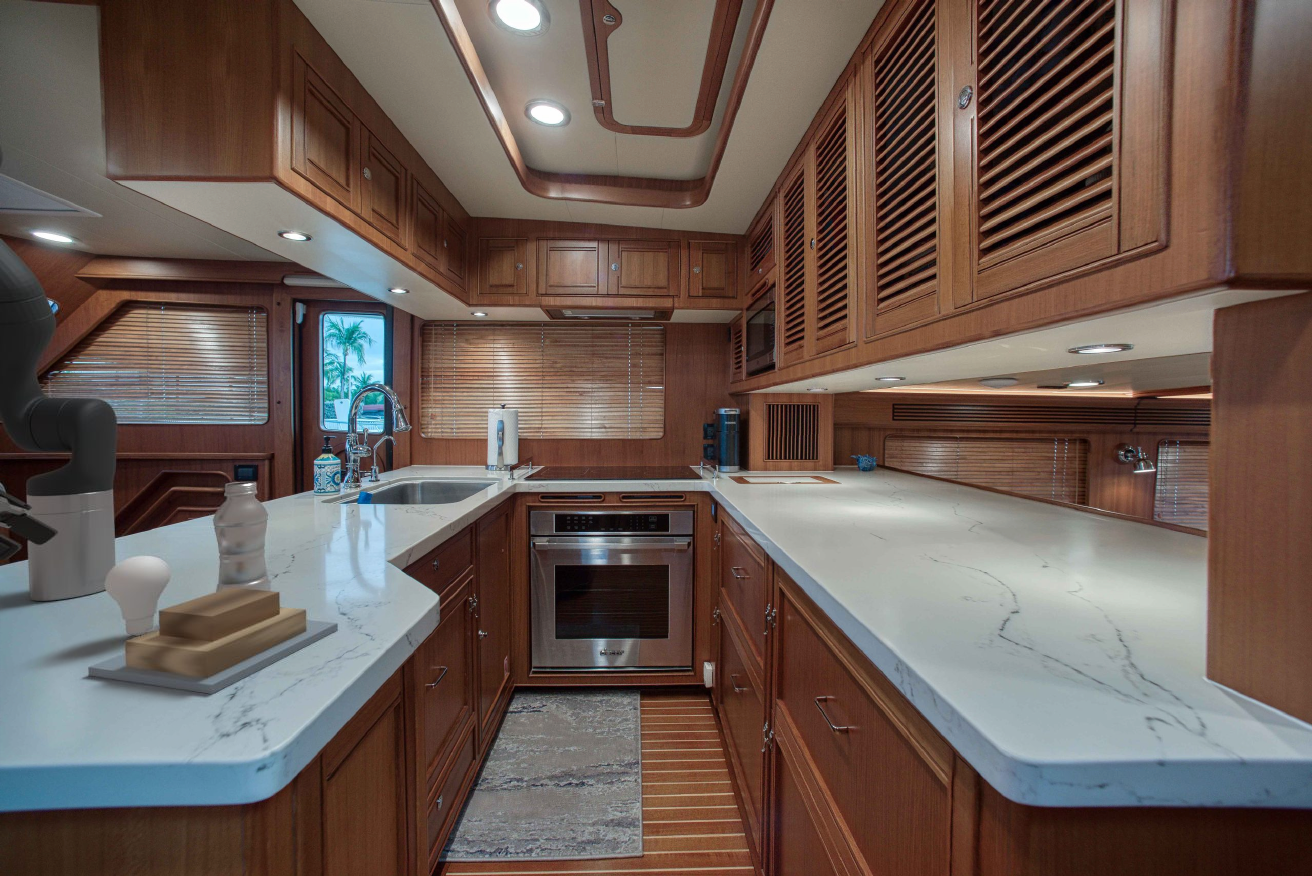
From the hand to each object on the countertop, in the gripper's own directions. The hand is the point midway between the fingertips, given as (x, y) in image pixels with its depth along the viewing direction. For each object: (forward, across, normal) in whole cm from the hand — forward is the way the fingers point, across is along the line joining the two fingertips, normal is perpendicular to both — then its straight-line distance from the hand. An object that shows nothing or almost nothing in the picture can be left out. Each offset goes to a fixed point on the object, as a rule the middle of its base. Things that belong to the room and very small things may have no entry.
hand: (32, 546), depth 59 cm
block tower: (+24, -13, -4) cm, 27 cm away
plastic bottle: (+24, +4, -4) cm, 24 cm away
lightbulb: (+16, 0, +3) cm, 17 cm away
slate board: (+24, -12, -4) cm, 27 cm away
